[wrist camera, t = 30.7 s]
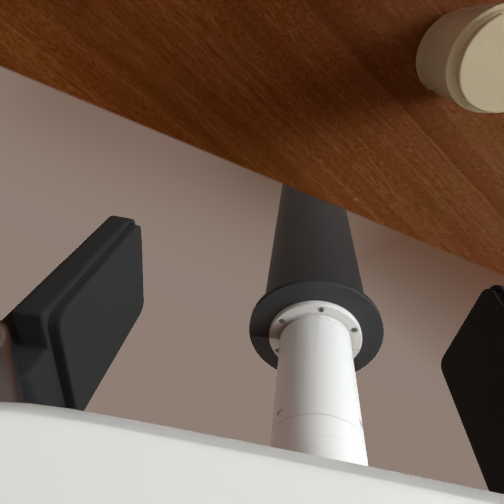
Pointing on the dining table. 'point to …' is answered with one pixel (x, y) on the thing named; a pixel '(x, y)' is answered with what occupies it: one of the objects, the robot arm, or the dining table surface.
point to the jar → (466, 58)
